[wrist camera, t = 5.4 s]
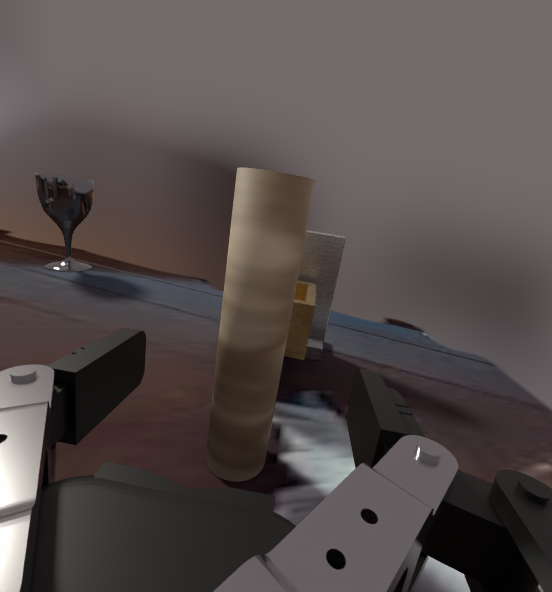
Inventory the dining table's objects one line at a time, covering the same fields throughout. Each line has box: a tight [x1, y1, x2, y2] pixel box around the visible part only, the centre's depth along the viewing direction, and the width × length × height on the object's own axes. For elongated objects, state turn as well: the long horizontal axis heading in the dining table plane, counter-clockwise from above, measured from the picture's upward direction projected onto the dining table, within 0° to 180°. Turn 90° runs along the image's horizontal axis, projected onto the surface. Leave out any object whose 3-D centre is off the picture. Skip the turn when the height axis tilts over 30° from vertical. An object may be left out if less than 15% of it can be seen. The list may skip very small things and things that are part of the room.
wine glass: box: [35, 172, 94, 272], centre depth 54 cm, size 8×8×15 cm
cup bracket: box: [284, 230, 346, 361], centre depth 34 cm, size 14×12×14 cm
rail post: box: [206, 168, 315, 482], centre depth 19 cm, size 4×4×18 cm
